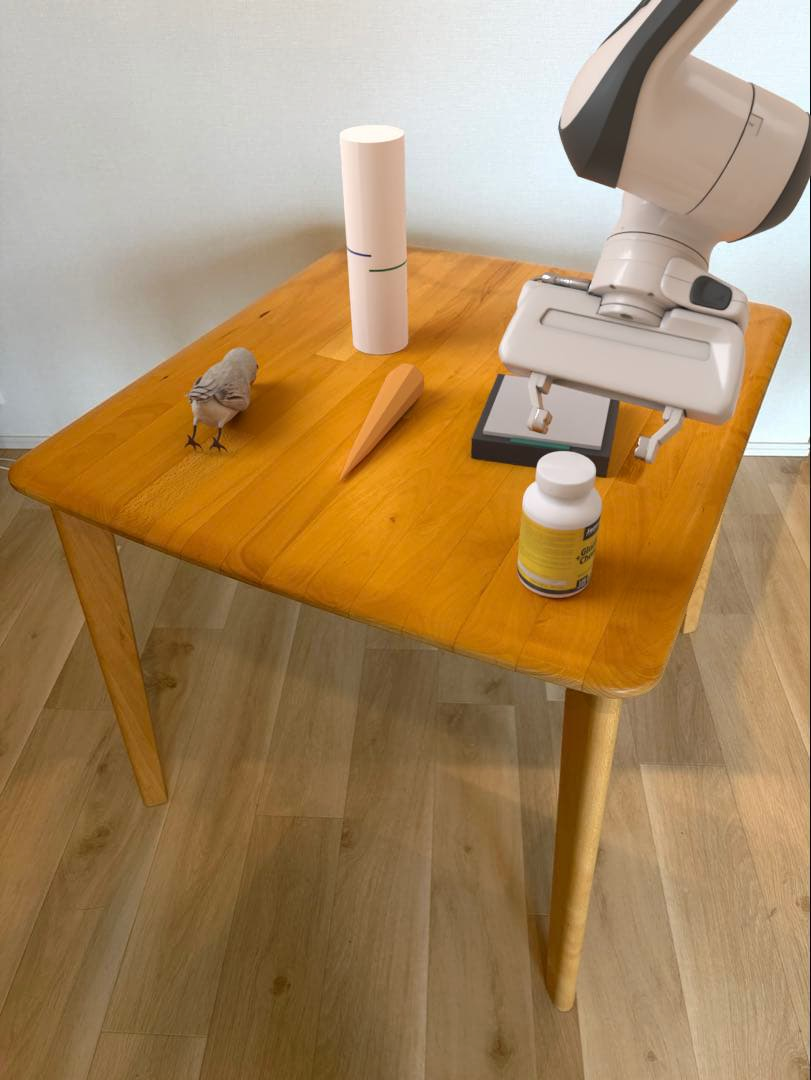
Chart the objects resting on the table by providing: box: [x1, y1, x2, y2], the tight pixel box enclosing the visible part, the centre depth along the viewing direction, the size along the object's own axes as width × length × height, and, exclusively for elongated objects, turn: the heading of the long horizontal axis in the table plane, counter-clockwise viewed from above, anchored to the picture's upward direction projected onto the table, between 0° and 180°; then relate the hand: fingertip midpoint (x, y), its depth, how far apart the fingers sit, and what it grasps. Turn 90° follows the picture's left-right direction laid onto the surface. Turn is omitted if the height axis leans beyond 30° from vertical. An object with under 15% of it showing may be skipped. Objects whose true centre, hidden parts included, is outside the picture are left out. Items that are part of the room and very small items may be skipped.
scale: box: [470, 373, 621, 478], centre depth 92 cm, size 14×14×3 cm
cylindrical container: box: [339, 124, 409, 356], centre depth 102 cm, size 7×7×25 cm
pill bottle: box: [516, 451, 603, 599], centre depth 71 cm, size 6×6×12 cm
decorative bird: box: [183, 346, 259, 453], centre depth 94 cm, size 5×16×8 cm, turn 169°
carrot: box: [338, 362, 425, 483], centre depth 92 cm, size 20×4×4 cm, turn 158°
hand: (588, 445), depth 71 cm, fingers open, 8 cm apart
